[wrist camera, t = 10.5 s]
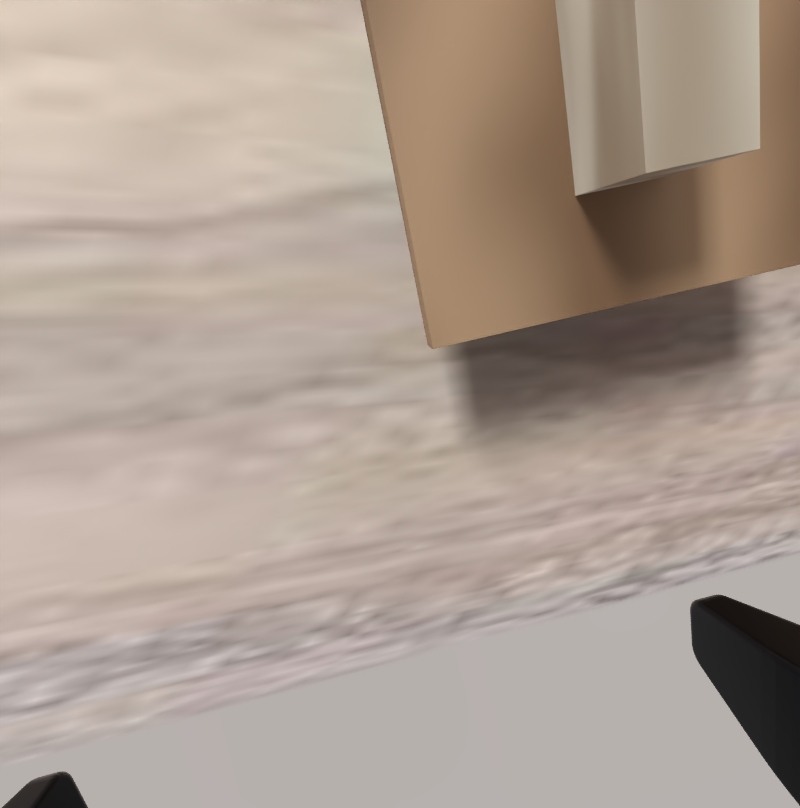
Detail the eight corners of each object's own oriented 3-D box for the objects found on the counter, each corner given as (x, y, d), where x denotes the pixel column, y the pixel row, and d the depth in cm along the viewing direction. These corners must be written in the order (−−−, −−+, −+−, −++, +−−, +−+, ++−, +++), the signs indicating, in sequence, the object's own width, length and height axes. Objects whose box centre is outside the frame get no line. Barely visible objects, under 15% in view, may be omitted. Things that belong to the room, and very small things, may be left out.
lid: (795, -221, 12) (1007, -449, 8) (791, 261, 15) (942, 257, 11) (332, -144, 11) (329, -354, 7) (427, 345, 14) (459, 370, 10)
